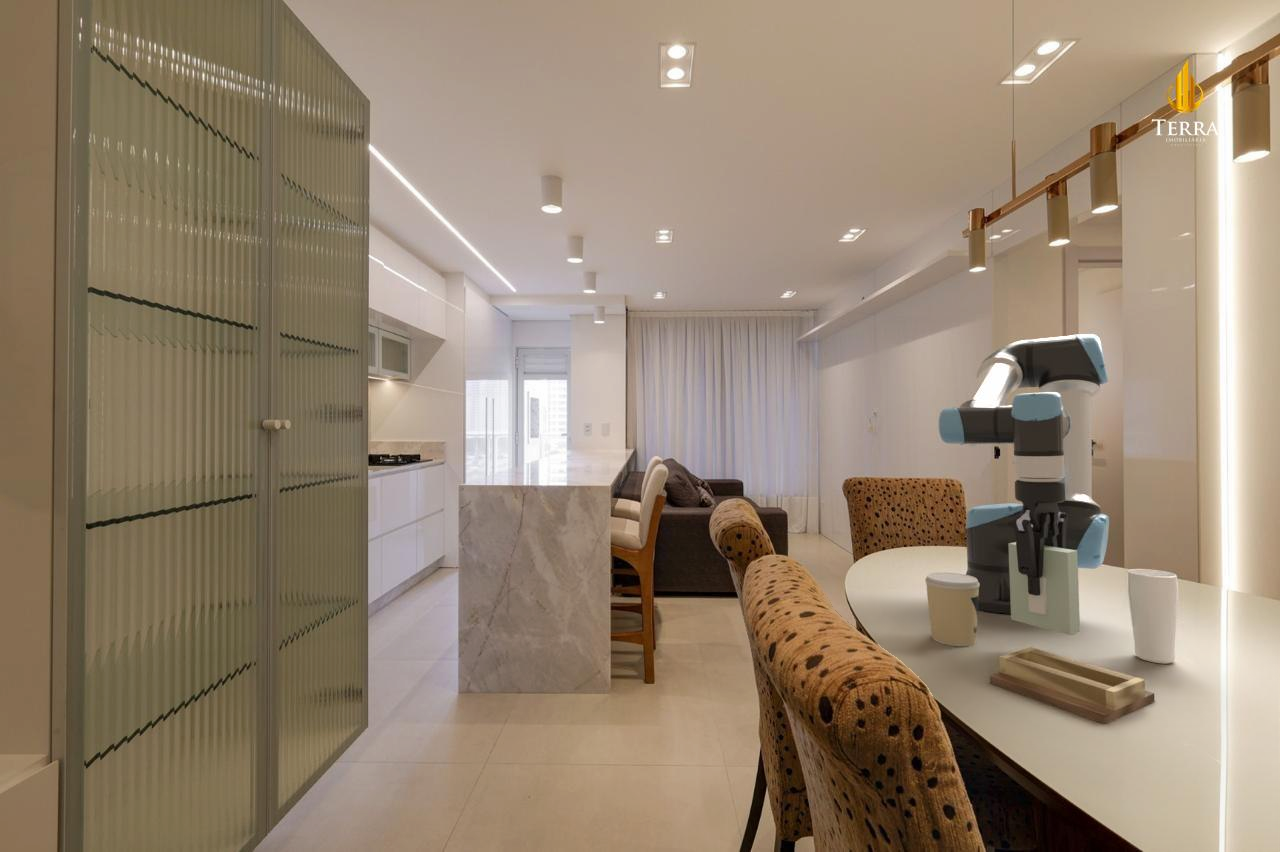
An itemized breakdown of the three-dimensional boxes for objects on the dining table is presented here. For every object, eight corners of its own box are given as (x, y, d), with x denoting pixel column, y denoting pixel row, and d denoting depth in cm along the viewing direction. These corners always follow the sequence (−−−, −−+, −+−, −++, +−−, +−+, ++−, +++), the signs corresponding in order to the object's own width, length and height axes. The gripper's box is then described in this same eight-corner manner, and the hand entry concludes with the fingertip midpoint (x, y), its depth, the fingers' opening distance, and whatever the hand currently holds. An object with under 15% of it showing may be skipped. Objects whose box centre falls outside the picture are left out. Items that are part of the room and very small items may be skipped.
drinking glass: (1132, 649, 110) (1129, 566, 111) (1182, 658, 106) (1179, 572, 106) (1127, 659, 106) (1124, 573, 106) (1178, 669, 101) (1175, 579, 101)
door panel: (1020, 616, 113) (1018, 541, 113) (1080, 631, 104) (1077, 550, 104) (1011, 619, 112) (1008, 543, 112) (1070, 635, 103) (1067, 552, 103)
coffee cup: (988, 649, 112) (986, 583, 112) (934, 646, 114) (932, 582, 114) (971, 633, 121) (970, 572, 121) (921, 630, 123) (919, 571, 123)
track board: (1040, 666, 103) (1039, 644, 103) (1154, 701, 89) (1153, 676, 89) (989, 683, 97) (989, 659, 97) (1104, 723, 83) (1103, 696, 83)
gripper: (1042, 474, 115) (1047, 598, 115) (990, 481, 108) (995, 613, 108) (1087, 477, 109) (1091, 608, 109) (1035, 484, 101) (1040, 624, 101)
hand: (1043, 610), depth 108 cm, fingers closed on door panel, 3 cm apart
